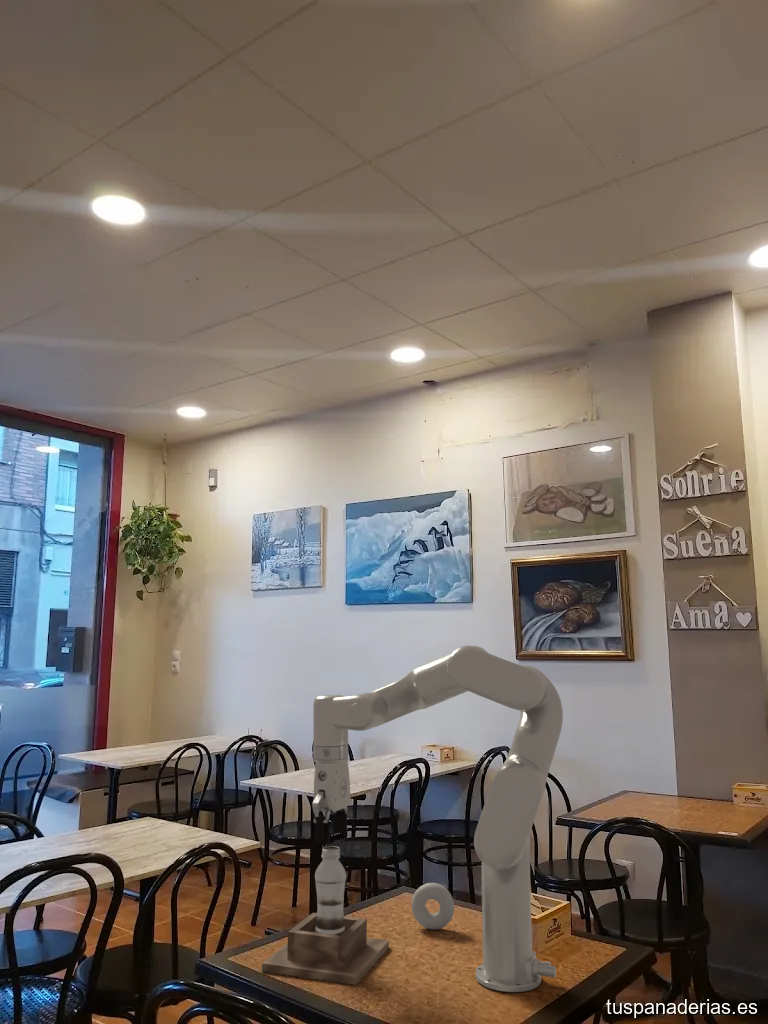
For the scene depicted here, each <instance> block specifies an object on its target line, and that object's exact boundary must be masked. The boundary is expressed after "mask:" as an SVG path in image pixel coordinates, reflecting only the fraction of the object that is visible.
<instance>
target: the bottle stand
mask: <svg viewBox="0 0 768 1024" xmlns="http://www.w3.org/2000/svg"><path fill="white" fill-rule="evenodd" d="M367 920H368V919H367V918H362V917H354V916H352V917H351V916H344V925H345V930H346V932H345V933H343V934H342V935H341V936H339V935H331V934H323V933H315V928H316V922H317V912H312V913H311V914H309V915H308V916H307V917H305V918H304V919H303V920H302V921H300V922H299V923H298V924H296V925H295V926H294V927H292V928H291V929H290V930H289V931H287V943H286V944H284V945H283V946H282V947H280V948H279V949H277V951H276V952H274V953H272V955H271V956H269V957H268V958H267V959H265V960H264V961H263V962H262V963H261V972H262V973H268V972H270V973H269V974H275V973H278V974H277V975H282V974H285V975H284V976H289V975H291V976H290V977H296V976H297V977H299V978H303V979H310V980H316V979H318V981H323V980H326V981H325V982H330V981H334V982H333V983H337V982H340V983H339V984H344V983H345V985H351V984H353V985H352V986H357V985H358V984H357V983H360V982H361V980H362V979H363V978H364V977H365V976H366V975H365V974H368V972H369V971H370V970H371V969H372V968H373V967H372V966H375V964H376V963H377V962H378V961H379V960H380V959H381V958H382V957H383V955H384V954H385V953H386V952H387V951H388V950H389V949H390V939H389V940H387V939H380V938H373V937H372V938H371V937H368V935H367V930H368V927H367V923H368V922H367ZM388 948H389V949H388ZM387 949H388V950H387ZM380 957H381V958H380ZM379 958H380V959H379ZM378 959H379V960H378ZM371 967H372V968H371ZM364 975H365V976H364ZM363 976H364V977H363ZM297 977H296V978H297ZM362 977H363V978H362ZM361 978H362V979H361ZM356 984H357V985H356Z"/></svg>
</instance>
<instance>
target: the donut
mask: <svg viewBox="0 0 768 1024" xmlns="http://www.w3.org/2000/svg"><path fill="white" fill-rule="evenodd" d="M431 899H432V900H435V901H437V902H438V904H439V910H438V911H437V912H435V913H433V912H430V911H429V910H428V908H427V902H428V901H429V900H431ZM410 906H411V913H412V915H413V917H414V919H415V920H416V921H417V922H418V924H419V925H420V926H422V927H423V928H425V929H426V930H427V929H428V930H432V931H434V930H436V931H437V930H441V929H443V928H444V927H445V928H446V926H447V925H448V924H449V923H450V922H451V920H452V919H453V916H454V915H455V901H454V898H453V897H452V894H451V892H450V891H449V890H448V889H447V888H446V887H445V886H444V885H442V884H440V883H436V882H427V883H424V884H423V885H420V886H419V887H418V888H417V889H416V890H415V891H414V893H413V895H412V899H411V905H410Z"/></svg>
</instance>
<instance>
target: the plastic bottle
mask: <svg viewBox="0 0 768 1024" xmlns="http://www.w3.org/2000/svg"><path fill="white" fill-rule="evenodd" d="M340 848H341V847H339V846H334V845H332V846H331V845H330V846H323V847H322V852H321V858H322V861H321V862H320V864H318V866H317V868H316V870H315V874H314V879H315V880H314V881H315V889H316V902H317V904H316V905H317V906H316V907H317V912H316V913H317V922H316V928H315V933H323V934H331V935H339V936H341V935H342V934H343V933H345V932H346V930H345V925H344V914H345V913H344V898H345V897H344V895H345V894H344V893H345V888H346V879H347V878H346V877H347V873H346V869H345V867H344V866H343V864H342V863H341V861H340V860H339V859H340V858H341V854H340V853H341V850H340Z"/></svg>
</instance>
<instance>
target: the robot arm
mask: <svg viewBox="0 0 768 1024" xmlns="http://www.w3.org/2000/svg"><path fill="white" fill-rule="evenodd" d="M467 692H470V693H472V694H475V695H477V696H478V697H479V696H480V697H482V698H484V699H487V700H489V701H492V702H494V703H497V704H500V705H502V706H504V707H508V708H510V709H512V710H516V711H519V712H520V716H519V721H518V724H517V727H516V730H515V733H514V736H513V740H512V743H511V746H510V749H509V751H508V753H507V757H506V759H505V761H504V762H503V764H502V765H501V766H500V768H499V769H498V770H497V771H496V773H495V774H494V775H495V776H494V777H493V780H492V781H491V782H492V783H491V785H490V788H489V791H488V794H487V797H486V799H485V802H484V805H483V808H482V810H481V814H480V817H479V820H478V823H477V826H476V829H475V832H474V837H473V845H474V846H473V847H474V850H475V853H476V855H477V857H478V858H479V859H480V861H481V916H482V920H481V923H482V927H481V928H482V959H483V960H482V962H483V963H482V964H480V965H478V966H477V968H476V969H475V972H474V973H475V980H476V981H477V982H478V983H479V984H480V985H482V986H483V987H484V988H485V987H486V988H488V989H490V990H495V991H496V992H497V991H499V992H504V993H523V992H529V991H532V990H534V989H536V988H538V987H539V986H540V984H541V983H542V976H544V977H546V978H547V977H548V978H554V979H556V977H557V968H556V965H552V963H551V961H543V960H542V961H541V960H540V959H538V958H537V956H536V955H537V953H536V951H533V936H532V934H533V933H532V907H531V906H532V905H531V903H532V902H531V893H532V892H531V891H532V890H531V831H532V828H533V825H534V822H535V819H536V816H537V814H538V810H539V807H540V804H541V801H542V798H543V796H544V794H545V791H546V790H545V789H546V786H547V785H546V784H547V779H548V775H549V773H550V772H549V771H550V768H551V765H552V763H553V759H554V756H555V752H556V749H557V746H558V743H559V739H560V736H561V732H562V728H563V722H564V721H563V720H564V717H563V715H564V713H563V712H564V711H563V704H562V700H561V698H560V694H559V692H558V691H557V688H556V687H555V685H554V684H553V683H552V682H551V680H550V679H549V678H548V676H547V675H546V674H545V673H543V672H542V671H541V670H539V669H538V668H536V667H534V666H531V665H530V666H529V665H521V664H518V663H515V662H512V661H510V660H506V659H504V658H501V657H499V656H497V655H494V654H491V653H489V652H488V651H487V650H486V649H484V648H483V647H481V646H478V645H477V646H476V645H464V646H461V647H458V648H456V649H455V650H454V651H452V653H449V654H447V655H445V656H443V657H440V658H438V659H436V660H433V661H431V662H428V663H425V664H423V665H420V666H417V667H415V668H413V669H412V670H411V671H409V672H408V673H407V674H406V676H404V677H403V678H401V679H399V680H397V681H394V682H393V683H390V684H388V685H386V686H383V687H380V688H378V689H375V690H372V691H370V692H366V693H360V694H355V695H354V694H353V695H350V696H345V695H341V694H323V695H318V696H316V697H315V698H314V700H313V707H312V708H313V711H312V712H313V715H312V716H313V717H312V718H313V736H312V737H313V743H312V744H313V751H312V752H313V762H314V763H315V766H314V778H313V779H314V780H313V801H312V803H311V807H312V811H313V812H312V814H313V815H312V816H313V824H314V842H315V844H330V842H331V822H329V819H330V815H331V812H332V833H334V834H346V833H347V832H348V810H349V808H348V806H349V805H350V803H351V783H350V781H351V780H350V770H349V769H350V768H349V731H356V732H362V731H364V732H365V731H367V730H371V729H373V728H377V727H379V726H381V725H384V724H387V723H390V722H391V721H394V720H396V719H398V718H401V717H403V716H406V715H408V714H411V713H414V712H416V711H419V710H426V709H428V708H430V707H433V706H435V705H438V704H440V703H443V702H445V701H447V700H449V699H450V700H451V699H452V698H455V697H457V696H460V695H462V694H464V693H467ZM324 813H325V814H324Z"/></svg>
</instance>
